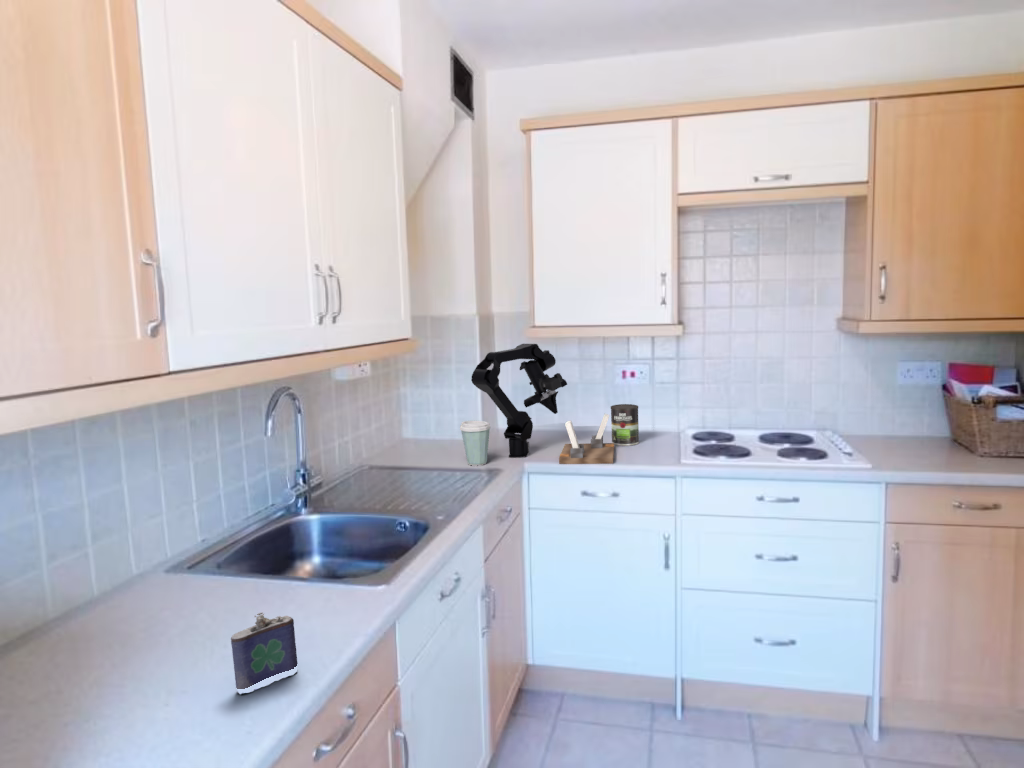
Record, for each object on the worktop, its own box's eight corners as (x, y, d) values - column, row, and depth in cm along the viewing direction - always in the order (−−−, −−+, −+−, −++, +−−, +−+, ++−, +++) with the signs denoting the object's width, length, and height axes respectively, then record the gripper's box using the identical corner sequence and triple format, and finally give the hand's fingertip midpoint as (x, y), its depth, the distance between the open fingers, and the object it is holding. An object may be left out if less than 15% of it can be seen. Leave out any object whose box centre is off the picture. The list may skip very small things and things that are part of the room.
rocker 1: (574, 456, 221) (564, 424, 220) (575, 454, 225) (565, 422, 224) (581, 455, 221) (571, 422, 220) (582, 452, 225) (572, 420, 224)
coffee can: (637, 446, 240) (636, 408, 239) (609, 445, 244) (608, 408, 242) (641, 440, 250) (640, 403, 248) (614, 439, 253) (613, 403, 252)
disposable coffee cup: (488, 458, 233) (485, 417, 231) (496, 465, 223) (494, 422, 221) (459, 462, 230) (456, 420, 228) (466, 469, 220) (463, 425, 218)
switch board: (559, 464, 221) (558, 449, 220) (565, 449, 242) (564, 435, 241) (613, 463, 217) (612, 448, 217) (614, 448, 239) (613, 435, 238)
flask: (239, 698, 95) (231, 628, 94) (233, 689, 98) (225, 621, 96) (301, 673, 101) (294, 607, 100) (294, 666, 103) (287, 601, 102)
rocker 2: (592, 445, 234) (603, 414, 232) (593, 442, 238) (603, 413, 236) (598, 447, 234) (609, 417, 232) (599, 444, 238) (610, 415, 235)
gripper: (532, 379, 228) (552, 419, 228) (566, 360, 239) (586, 397, 240) (514, 387, 237) (534, 425, 237) (548, 368, 248) (567, 405, 249)
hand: (556, 413), depth 241 cm, fingers closed
